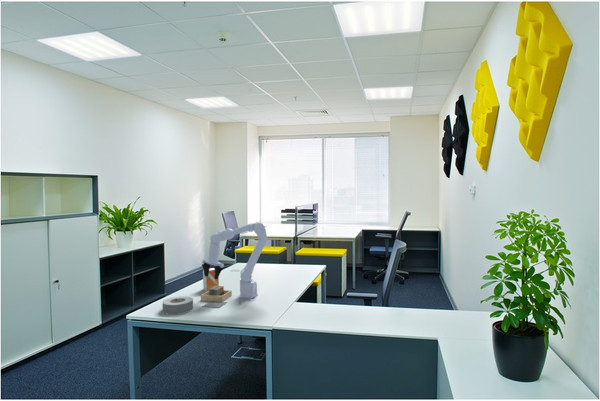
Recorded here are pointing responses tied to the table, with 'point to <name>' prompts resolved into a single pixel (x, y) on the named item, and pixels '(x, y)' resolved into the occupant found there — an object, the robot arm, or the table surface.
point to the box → (217, 291)
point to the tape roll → (177, 305)
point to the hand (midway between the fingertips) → (211, 277)
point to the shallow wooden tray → (216, 298)
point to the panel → (214, 304)
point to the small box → (210, 280)
